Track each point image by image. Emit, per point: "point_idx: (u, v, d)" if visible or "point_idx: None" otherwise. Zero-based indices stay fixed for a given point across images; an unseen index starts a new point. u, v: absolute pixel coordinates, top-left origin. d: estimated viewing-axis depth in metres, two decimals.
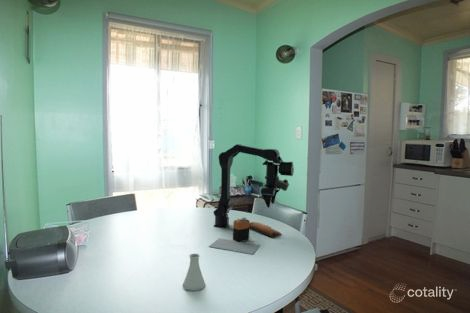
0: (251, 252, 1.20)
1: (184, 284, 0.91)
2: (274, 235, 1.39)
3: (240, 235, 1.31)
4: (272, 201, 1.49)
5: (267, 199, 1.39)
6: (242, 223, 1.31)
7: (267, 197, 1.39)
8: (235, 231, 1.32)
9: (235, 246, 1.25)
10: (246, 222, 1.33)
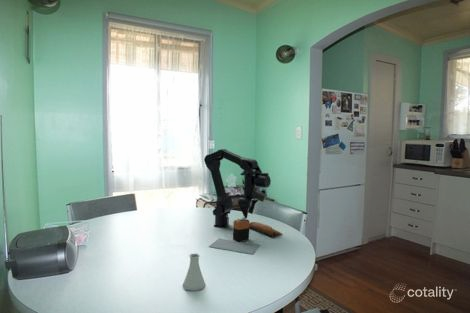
0: (251, 252, 1.20)
1: (184, 284, 0.91)
2: (274, 235, 1.39)
3: (240, 235, 1.31)
4: (251, 211, 1.48)
5: (244, 210, 1.39)
6: (242, 223, 1.31)
7: (244, 208, 1.39)
8: (235, 231, 1.32)
9: (235, 246, 1.25)
10: (246, 222, 1.33)
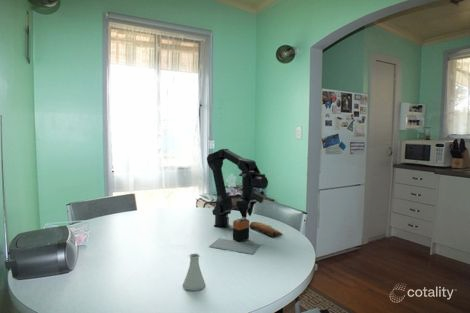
0: (251, 252, 1.20)
1: (184, 284, 0.91)
2: (275, 235, 1.39)
3: (240, 235, 1.31)
4: (249, 213, 1.45)
5: (243, 212, 1.36)
6: (242, 223, 1.31)
7: (243, 209, 1.36)
8: (235, 232, 1.31)
9: (235, 246, 1.25)
10: (246, 222, 1.32)
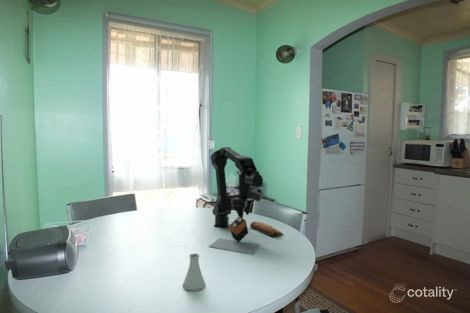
0: (251, 252, 1.20)
1: (184, 284, 0.91)
2: (275, 235, 1.39)
3: (239, 237, 1.29)
4: (247, 212, 1.41)
5: (239, 211, 1.31)
6: (238, 228, 1.26)
7: (239, 208, 1.31)
8: (233, 234, 1.29)
9: (235, 246, 1.25)
10: (242, 224, 1.27)
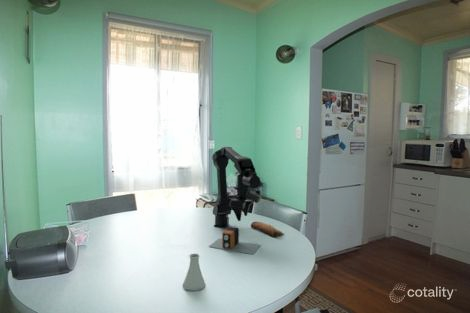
0: (251, 252, 1.20)
1: (184, 284, 0.91)
2: (276, 235, 1.39)
3: (236, 242, 1.27)
4: (245, 213, 1.39)
5: (237, 212, 1.29)
6: (232, 244, 1.22)
7: (237, 210, 1.29)
8: None
9: (235, 246, 1.25)
10: (232, 238, 1.22)
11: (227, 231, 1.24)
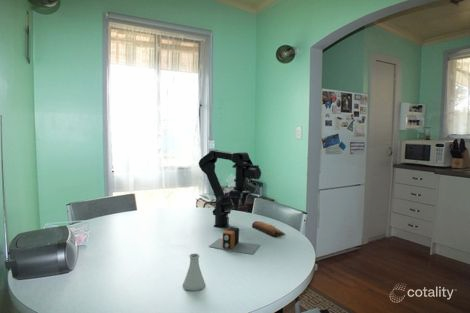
0: (251, 252, 1.20)
1: (184, 284, 0.91)
2: (276, 234, 1.40)
3: (236, 242, 1.27)
4: (243, 203, 1.51)
5: (235, 202, 1.41)
6: (232, 244, 1.22)
7: (235, 200, 1.41)
8: None
9: (235, 246, 1.25)
10: (232, 238, 1.22)
11: (227, 231, 1.24)
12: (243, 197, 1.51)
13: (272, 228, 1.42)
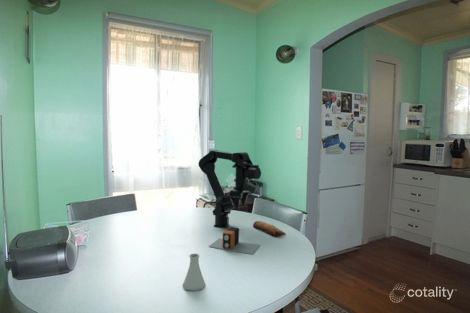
0: (251, 252, 1.20)
1: (184, 284, 0.91)
2: (277, 234, 1.40)
3: (236, 242, 1.27)
4: (243, 203, 1.51)
5: (236, 201, 1.41)
6: (232, 244, 1.22)
7: (236, 199, 1.41)
8: None
9: (235, 246, 1.25)
10: (232, 238, 1.22)
11: (227, 231, 1.24)
12: (243, 197, 1.51)
13: (273, 228, 1.42)
